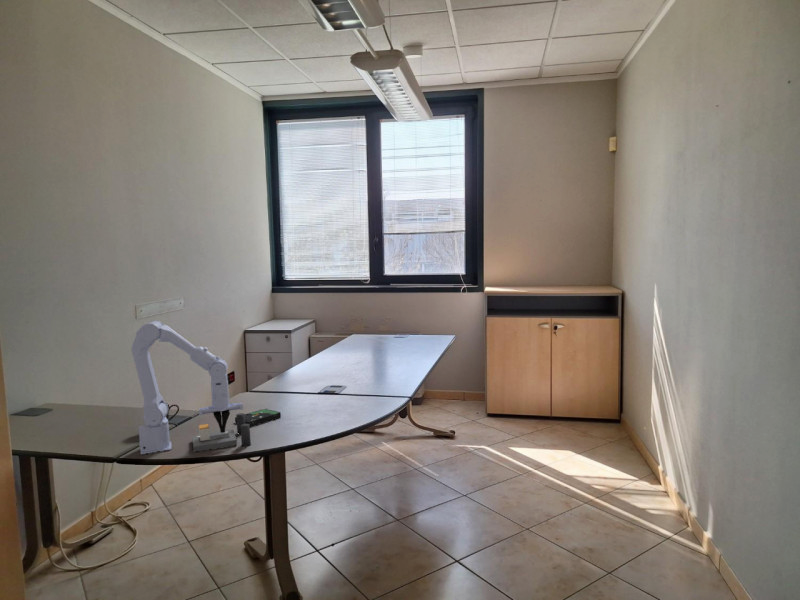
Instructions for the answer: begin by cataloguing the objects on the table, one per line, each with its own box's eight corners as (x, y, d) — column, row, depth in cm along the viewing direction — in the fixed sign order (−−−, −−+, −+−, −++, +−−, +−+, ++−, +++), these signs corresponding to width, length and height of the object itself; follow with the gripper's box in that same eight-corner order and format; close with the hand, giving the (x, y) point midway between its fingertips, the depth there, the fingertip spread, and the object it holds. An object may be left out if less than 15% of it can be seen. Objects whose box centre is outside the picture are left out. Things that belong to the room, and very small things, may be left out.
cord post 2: (242, 447, 184) (241, 427, 184) (241, 444, 187) (240, 424, 186) (251, 445, 185) (250, 425, 185) (250, 442, 188) (248, 423, 188)
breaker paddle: (200, 440, 185) (199, 428, 185) (200, 437, 189) (199, 425, 188) (209, 439, 186) (208, 427, 186) (209, 435, 190) (208, 423, 190)
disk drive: (250, 429, 205) (281, 418, 216) (249, 422, 205) (281, 411, 216) (234, 424, 212) (266, 414, 223) (234, 417, 212) (265, 407, 223)
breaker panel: (193, 452, 181) (193, 446, 180) (192, 441, 192) (192, 435, 192) (237, 445, 186) (236, 439, 186) (233, 434, 197) (233, 429, 197)
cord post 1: (237, 434, 197) (236, 416, 197) (236, 432, 200) (235, 413, 199) (246, 433, 198) (245, 414, 198) (245, 431, 201) (244, 412, 200)
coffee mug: (144, 435, 200) (142, 409, 199) (148, 428, 208) (146, 403, 207) (178, 431, 203) (176, 405, 202) (180, 424, 211) (178, 400, 210)
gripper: (198, 399, 182) (201, 438, 183) (242, 393, 188) (245, 431, 189) (197, 394, 188) (200, 432, 190) (240, 389, 194) (242, 426, 195)
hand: (222, 431), depth 190 cm, fingers closed
